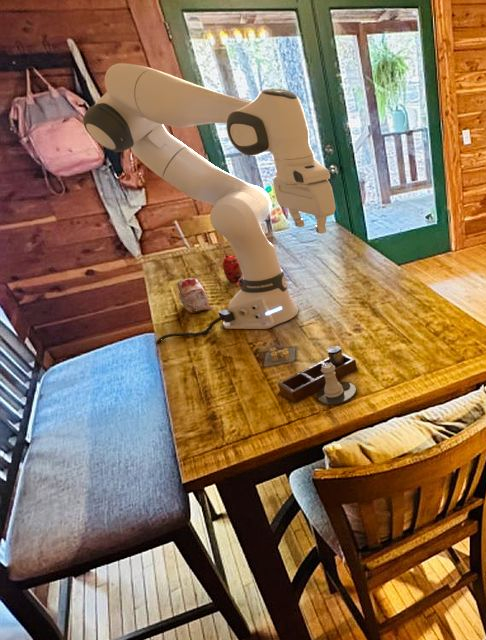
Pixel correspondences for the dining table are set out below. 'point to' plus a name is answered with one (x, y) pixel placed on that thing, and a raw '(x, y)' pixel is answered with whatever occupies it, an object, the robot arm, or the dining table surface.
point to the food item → (193, 295)
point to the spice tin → (335, 355)
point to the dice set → (279, 356)
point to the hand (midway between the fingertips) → (310, 229)
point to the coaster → (347, 394)
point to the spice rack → (309, 382)
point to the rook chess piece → (331, 381)
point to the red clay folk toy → (231, 266)
